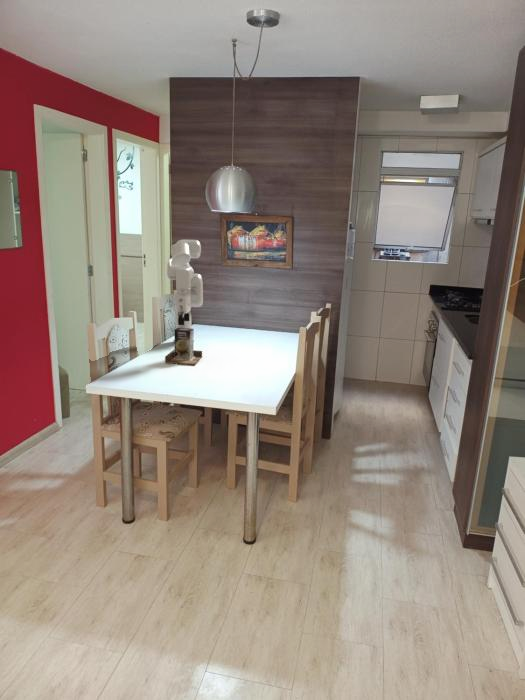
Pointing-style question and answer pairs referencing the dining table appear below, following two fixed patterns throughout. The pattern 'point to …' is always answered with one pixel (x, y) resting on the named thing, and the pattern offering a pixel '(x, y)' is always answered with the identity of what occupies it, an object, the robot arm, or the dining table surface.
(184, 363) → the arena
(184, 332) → the coffee box
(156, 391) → the dining table surface
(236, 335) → the dining table surface
